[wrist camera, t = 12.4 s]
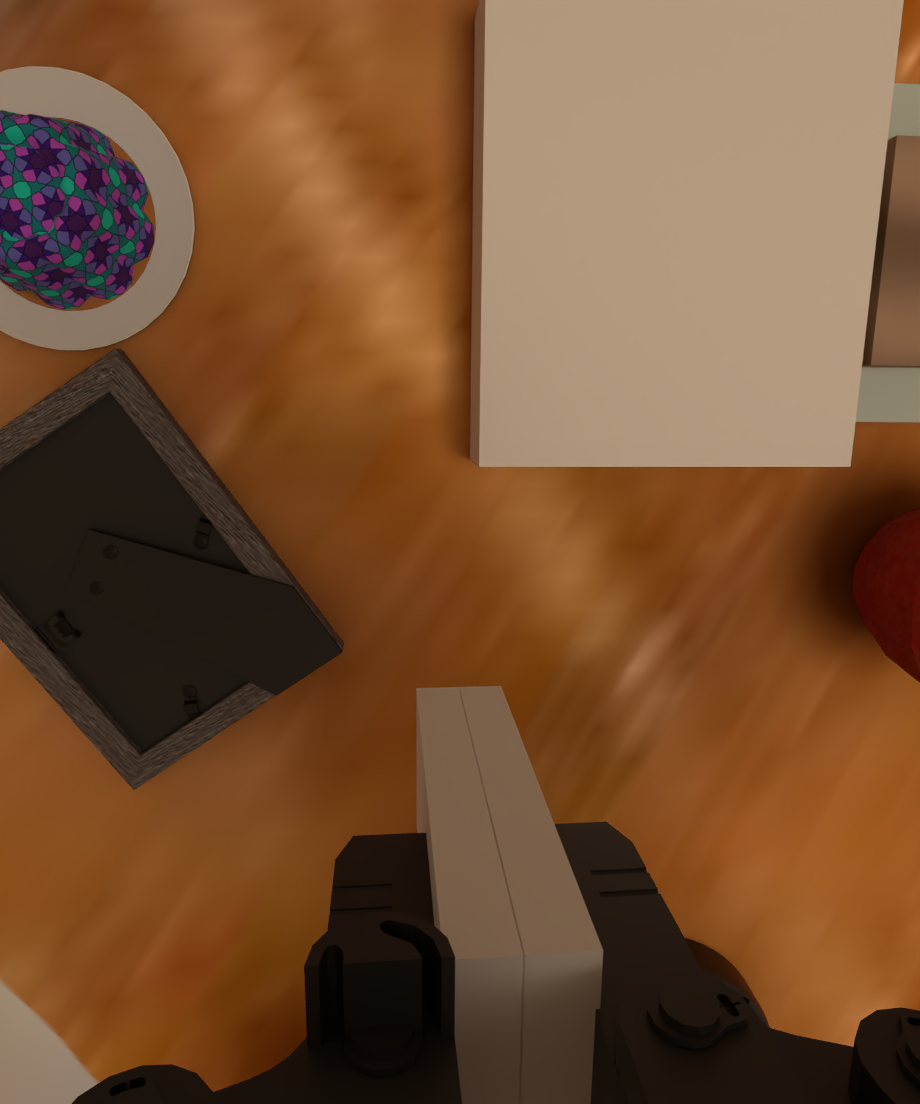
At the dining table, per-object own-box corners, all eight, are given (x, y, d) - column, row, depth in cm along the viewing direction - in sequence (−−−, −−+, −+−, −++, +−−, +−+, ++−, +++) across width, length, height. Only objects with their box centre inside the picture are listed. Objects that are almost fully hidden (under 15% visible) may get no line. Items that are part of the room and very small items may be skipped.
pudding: (146, 43, 34) (104, -18, 29) (233, 315, 37) (208, 303, 32) (-119, 110, 34) (-210, 60, 29) (-13, 379, 36) (-78, 378, 31)
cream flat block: (806, 459, 41) (850, 466, 37) (469, 459, 39) (479, 466, 35) (848, 39, 37) (903, -2, 33) (474, 19, 35) (485, -28, 31)
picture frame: (344, 639, 41) (126, 350, 37) (342, 652, 39) (111, 348, 35) (143, 775, 41) (-94, 504, 37) (131, 794, 40) (-120, 511, 36)
